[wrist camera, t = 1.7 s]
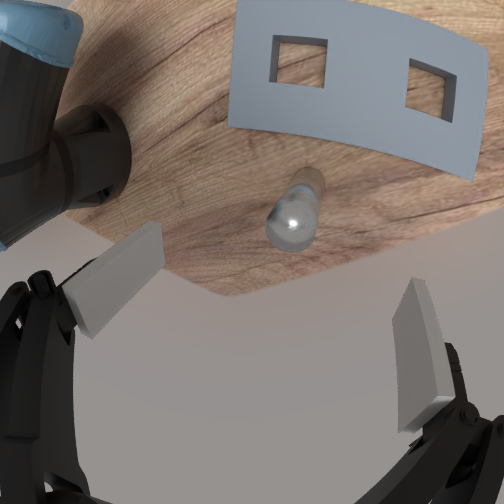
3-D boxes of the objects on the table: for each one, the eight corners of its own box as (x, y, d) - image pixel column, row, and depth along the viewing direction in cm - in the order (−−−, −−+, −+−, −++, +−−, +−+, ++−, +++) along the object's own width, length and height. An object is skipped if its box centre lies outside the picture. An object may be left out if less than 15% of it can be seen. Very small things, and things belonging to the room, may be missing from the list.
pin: (292, 193, 28) (262, 246, 18) (296, 164, 27) (267, 201, 17) (322, 199, 27) (310, 257, 18) (327, 170, 26) (319, 211, 16)
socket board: (238, 125, 26) (227, 127, 24) (247, 5, 19) (237, -4, 16) (460, 174, 21) (472, 181, 18) (475, 53, 14) (488, 49, 11)
